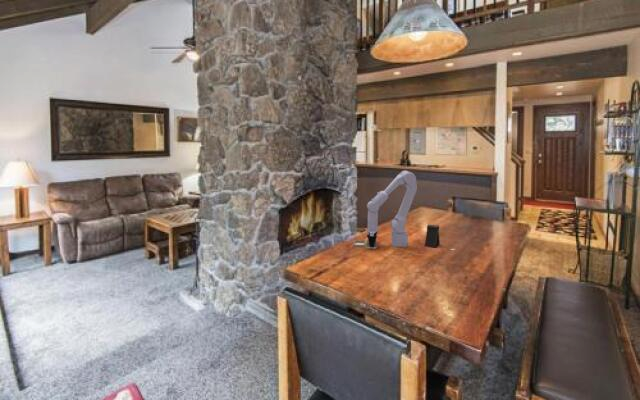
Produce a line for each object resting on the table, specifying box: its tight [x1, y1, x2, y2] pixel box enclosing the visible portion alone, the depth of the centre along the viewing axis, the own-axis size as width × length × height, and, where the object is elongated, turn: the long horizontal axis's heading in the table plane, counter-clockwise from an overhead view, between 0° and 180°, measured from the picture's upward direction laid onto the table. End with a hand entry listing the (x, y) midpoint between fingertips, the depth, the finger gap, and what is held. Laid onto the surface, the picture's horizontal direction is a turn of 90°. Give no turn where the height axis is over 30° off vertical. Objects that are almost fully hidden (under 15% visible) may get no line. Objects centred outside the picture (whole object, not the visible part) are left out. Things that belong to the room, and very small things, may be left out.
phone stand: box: [424, 224, 441, 249], centre depth 211 cm, size 9×6×12 cm, turn 144°
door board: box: [352, 237, 378, 250], centre depth 210 cm, size 13×10×4 cm
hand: (372, 244), depth 209 cm, fingers open, 7 cm apart
